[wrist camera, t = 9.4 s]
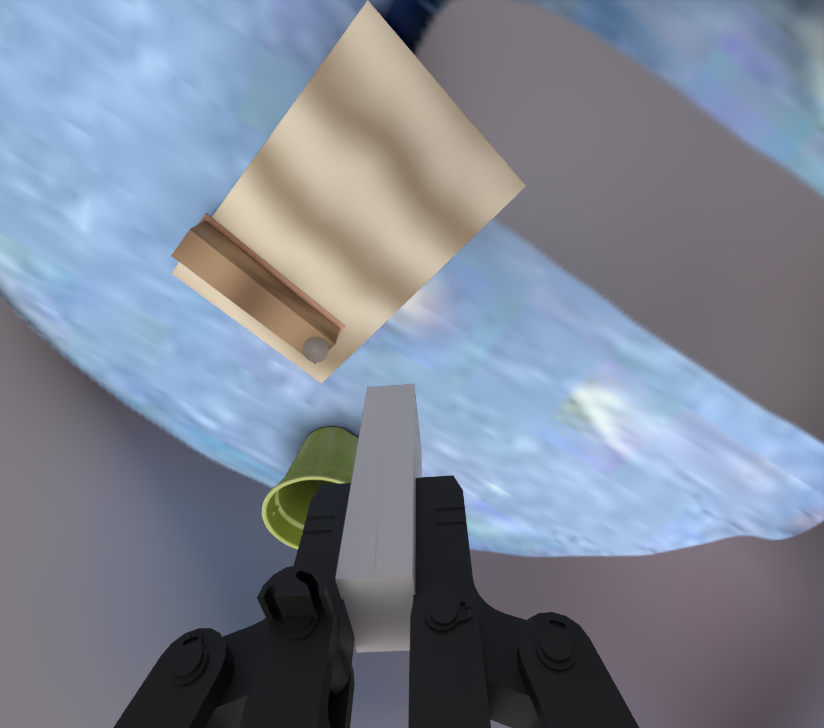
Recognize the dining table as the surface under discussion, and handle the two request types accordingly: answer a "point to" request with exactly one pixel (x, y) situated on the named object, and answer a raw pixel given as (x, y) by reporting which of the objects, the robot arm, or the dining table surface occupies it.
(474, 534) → the dining table surface
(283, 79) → the dining table surface
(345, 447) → the plant pot
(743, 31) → the dining table surface
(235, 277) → the folding leg
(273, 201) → the stool seat
